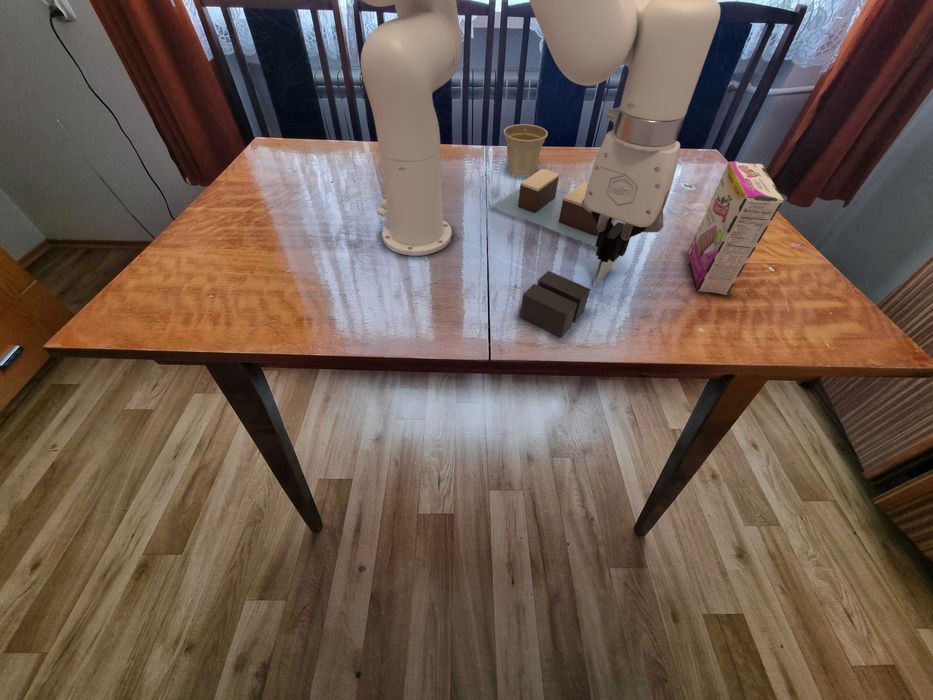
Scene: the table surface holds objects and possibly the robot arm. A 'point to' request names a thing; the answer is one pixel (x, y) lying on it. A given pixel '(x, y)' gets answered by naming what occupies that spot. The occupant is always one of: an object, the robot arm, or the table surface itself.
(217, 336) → the table surface
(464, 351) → the table surface
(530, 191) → the two-tone brown block
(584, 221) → the cake
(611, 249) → the knife
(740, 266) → the candy bar box
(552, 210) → the platter
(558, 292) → the knife block
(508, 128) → the flower pot
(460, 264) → the table surface
